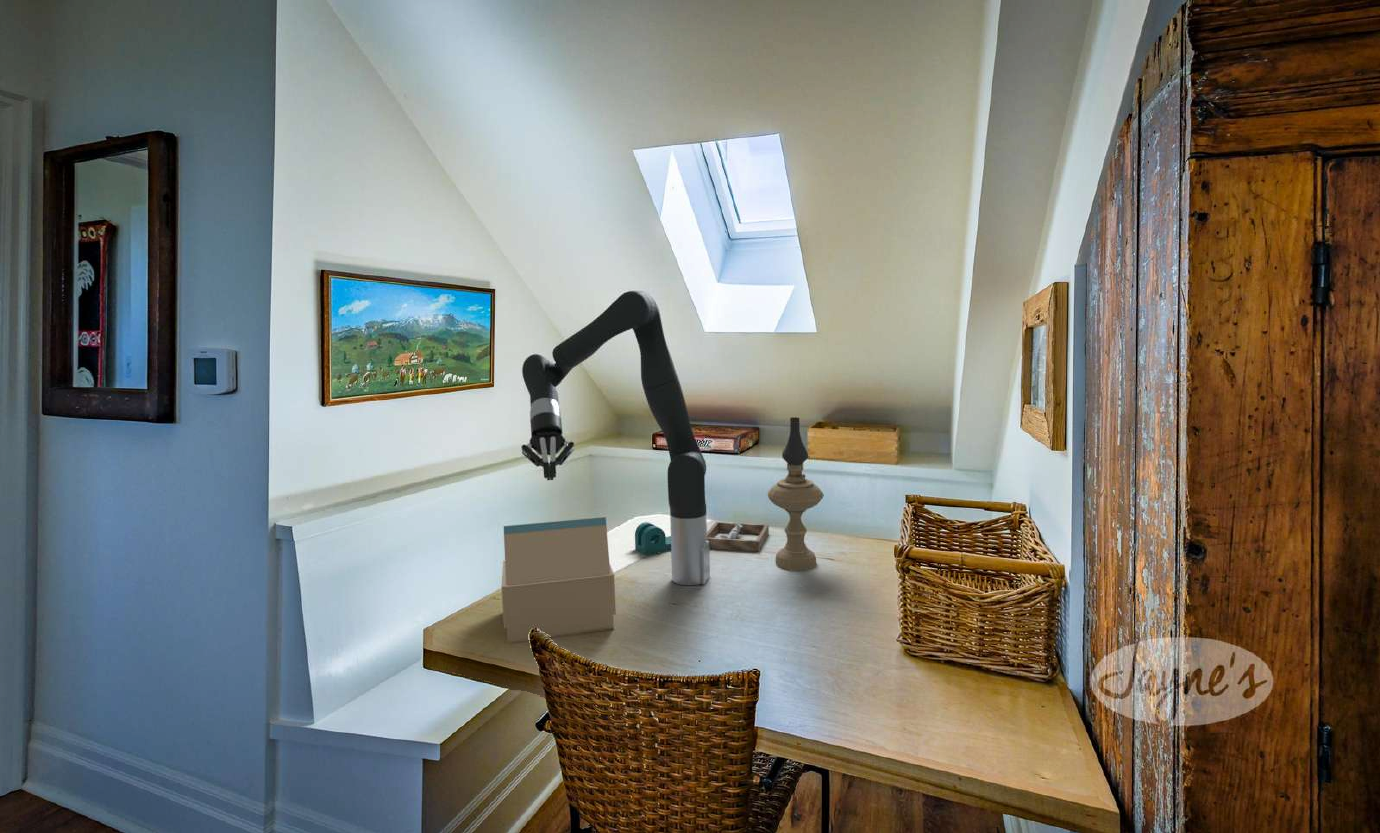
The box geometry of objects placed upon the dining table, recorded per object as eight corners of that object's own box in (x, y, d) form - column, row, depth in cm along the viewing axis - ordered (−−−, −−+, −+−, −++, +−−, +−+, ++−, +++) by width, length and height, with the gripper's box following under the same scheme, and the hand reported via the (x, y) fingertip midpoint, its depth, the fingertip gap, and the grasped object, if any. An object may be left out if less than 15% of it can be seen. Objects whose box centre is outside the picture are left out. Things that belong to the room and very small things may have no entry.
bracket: (645, 556, 192) (644, 529, 191) (635, 549, 198) (634, 524, 197) (699, 545, 201) (698, 520, 200) (688, 539, 207) (687, 515, 206)
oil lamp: (789, 576, 172) (788, 422, 168) (757, 560, 186) (755, 417, 181) (835, 566, 179) (835, 418, 175) (801, 551, 192) (800, 413, 188)
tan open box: (506, 609, 156) (503, 559, 154) (605, 597, 161) (603, 549, 160) (504, 643, 138) (501, 587, 136) (616, 629, 143) (614, 575, 142)
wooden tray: (768, 533, 210) (768, 524, 210) (759, 551, 193) (758, 541, 193) (716, 530, 215) (716, 521, 215) (702, 547, 198) (701, 538, 197)
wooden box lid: (503, 526, 139) (503, 526, 138) (605, 517, 144) (605, 517, 143) (506, 585, 136) (506, 585, 136) (609, 574, 141) (610, 574, 141)
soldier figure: (712, 547, 202) (722, 525, 212) (725, 557, 202) (734, 534, 212) (728, 533, 198) (737, 511, 208) (740, 543, 198) (749, 520, 208)
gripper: (517, 412, 162) (520, 471, 151) (573, 409, 165) (579, 467, 155) (519, 431, 168) (521, 489, 157) (572, 428, 171) (578, 485, 160)
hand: (550, 478), depth 156 cm, fingers closed
